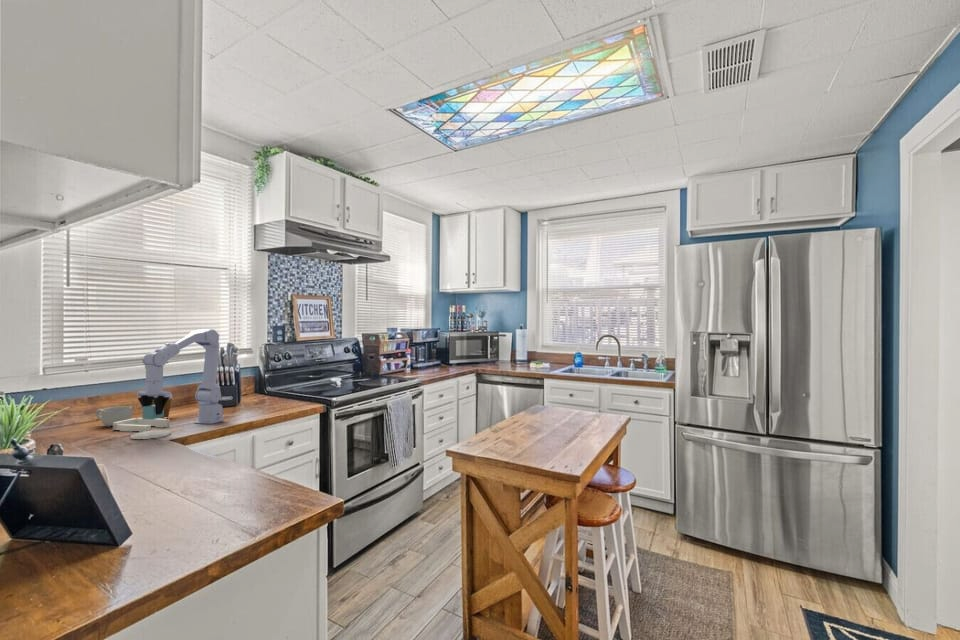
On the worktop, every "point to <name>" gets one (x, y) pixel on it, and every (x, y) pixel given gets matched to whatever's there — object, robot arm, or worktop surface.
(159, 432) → the dish
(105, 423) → the teacup
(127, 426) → the frame
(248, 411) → the worktop surface
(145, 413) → the cube
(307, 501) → the worktop surface
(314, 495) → the worktop surface
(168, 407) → the disposable coffee cup
